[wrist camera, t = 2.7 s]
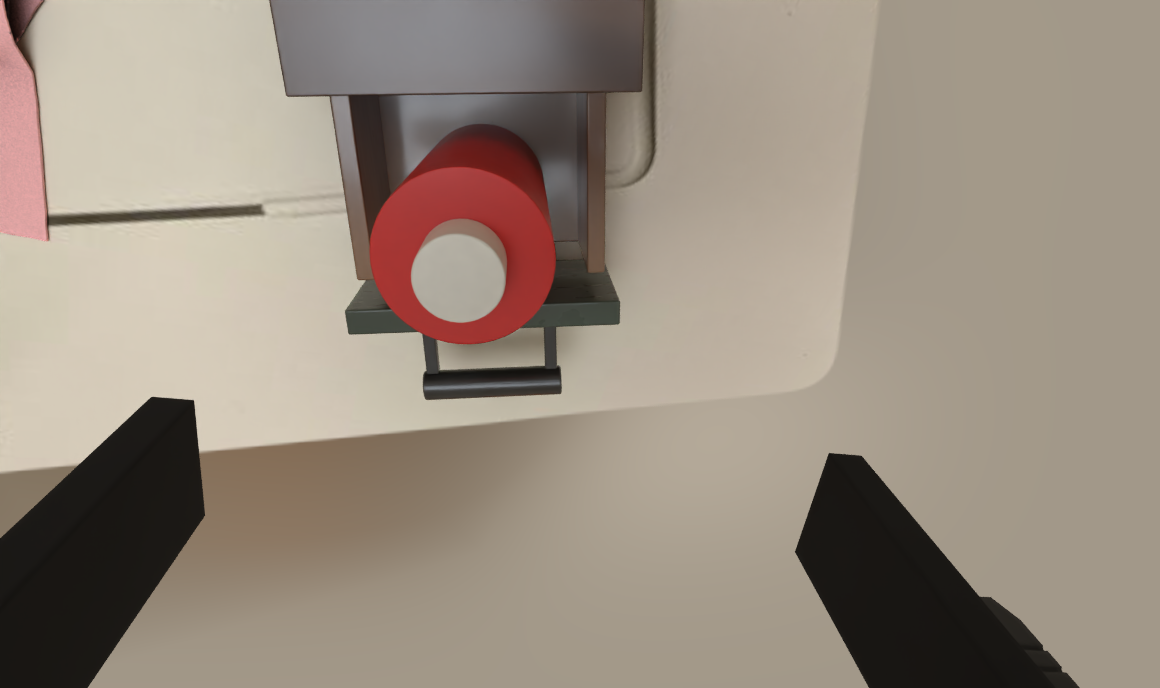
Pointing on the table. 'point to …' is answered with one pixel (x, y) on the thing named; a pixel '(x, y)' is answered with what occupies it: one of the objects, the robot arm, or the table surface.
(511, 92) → the cabinet
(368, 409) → the table surface
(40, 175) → the cloth
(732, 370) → the table surface
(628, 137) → the table surface
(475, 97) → the drawer
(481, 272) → the red cylinder white end
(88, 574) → the robot arm
